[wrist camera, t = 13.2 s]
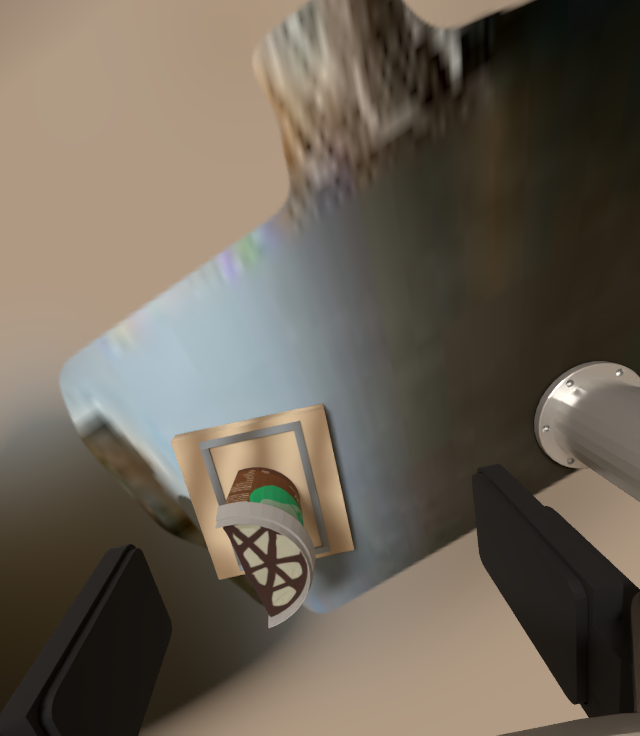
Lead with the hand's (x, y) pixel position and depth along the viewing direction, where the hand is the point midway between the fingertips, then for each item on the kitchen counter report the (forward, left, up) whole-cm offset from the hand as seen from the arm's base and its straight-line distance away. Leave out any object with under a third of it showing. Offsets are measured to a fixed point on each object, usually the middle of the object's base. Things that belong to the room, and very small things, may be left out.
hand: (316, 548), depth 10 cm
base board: (+7, +16, -28) cm, 33 cm away
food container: (+6, +16, -27) cm, 32 cm away
